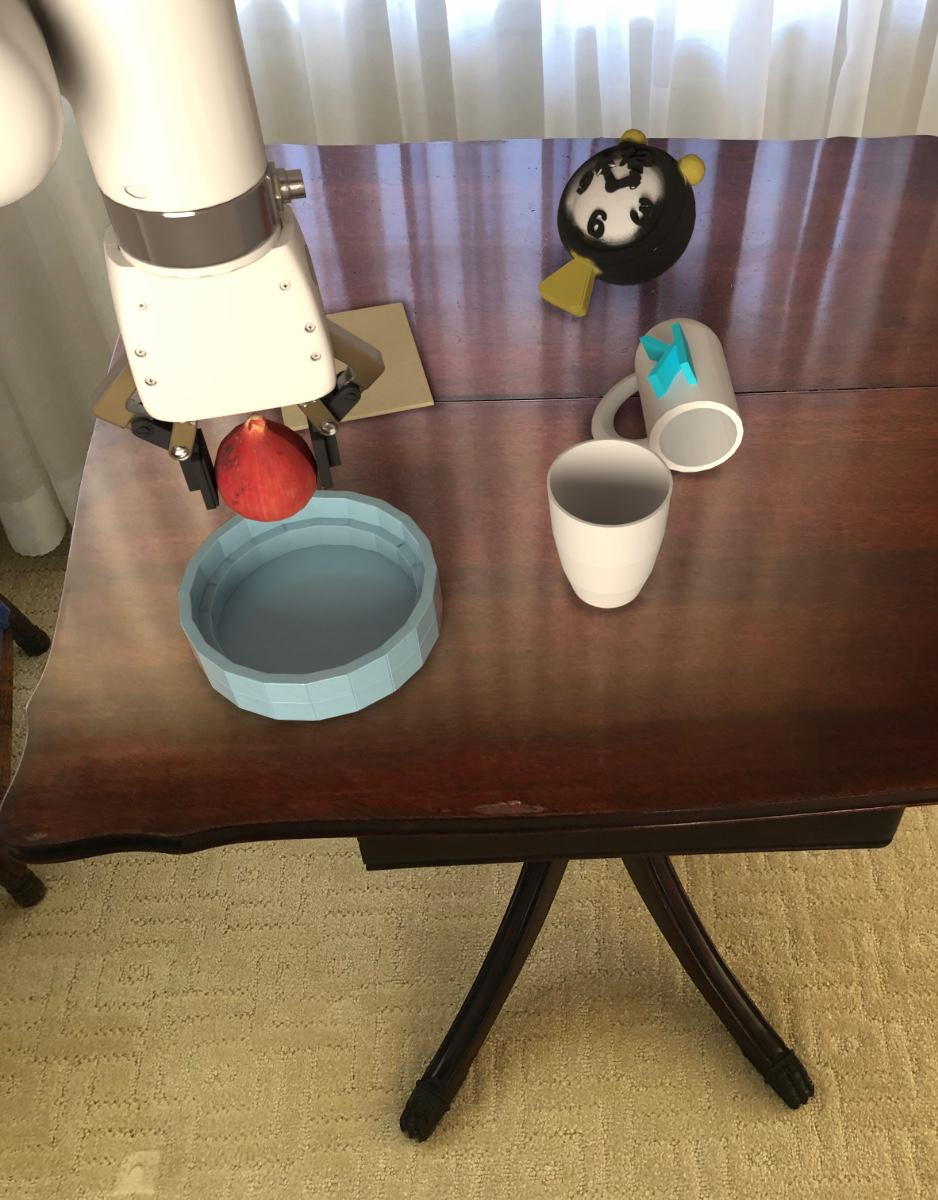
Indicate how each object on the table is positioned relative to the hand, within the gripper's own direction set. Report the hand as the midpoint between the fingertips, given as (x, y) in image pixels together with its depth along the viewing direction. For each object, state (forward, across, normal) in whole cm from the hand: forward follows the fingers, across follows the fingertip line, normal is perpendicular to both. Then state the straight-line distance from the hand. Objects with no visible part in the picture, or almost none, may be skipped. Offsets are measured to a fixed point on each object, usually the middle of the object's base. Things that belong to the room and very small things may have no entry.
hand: (268, 480), depth 65 cm
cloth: (+13, -7, -27) cm, 31 cm away
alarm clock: (+13, -33, -33) cm, 48 cm away
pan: (+14, -1, 0) cm, 14 cm away
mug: (+13, -30, -13) cm, 35 cm away
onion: (+3, 0, 0) cm, 3 cm away
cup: (+13, -21, +2) cm, 25 cm away
